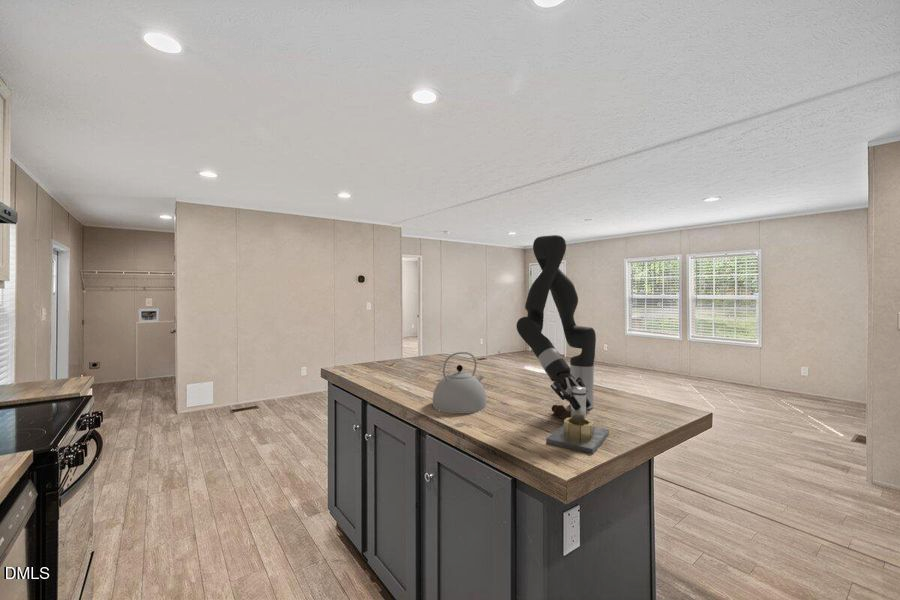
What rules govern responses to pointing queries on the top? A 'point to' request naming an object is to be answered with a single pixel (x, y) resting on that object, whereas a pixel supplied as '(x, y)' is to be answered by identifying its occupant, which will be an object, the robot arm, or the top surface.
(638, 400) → the top surface
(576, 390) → the cylinder
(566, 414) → the bolt
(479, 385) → the kettle
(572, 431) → the square base with ring
